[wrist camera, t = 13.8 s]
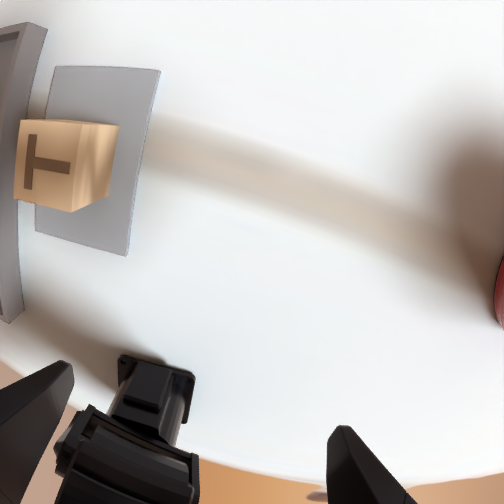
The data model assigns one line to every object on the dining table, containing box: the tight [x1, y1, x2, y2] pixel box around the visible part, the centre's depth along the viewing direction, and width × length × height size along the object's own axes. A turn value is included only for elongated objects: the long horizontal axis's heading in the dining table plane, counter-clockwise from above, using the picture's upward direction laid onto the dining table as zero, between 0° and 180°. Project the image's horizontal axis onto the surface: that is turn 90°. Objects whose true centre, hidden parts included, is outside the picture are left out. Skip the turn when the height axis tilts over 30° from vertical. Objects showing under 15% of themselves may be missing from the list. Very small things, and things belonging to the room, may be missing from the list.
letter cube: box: [14, 119, 119, 213], centre depth 15 cm, size 4×4×5 cm
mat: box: [35, 66, 161, 257], centre depth 17 cm, size 12×8×1 cm, turn 166°
